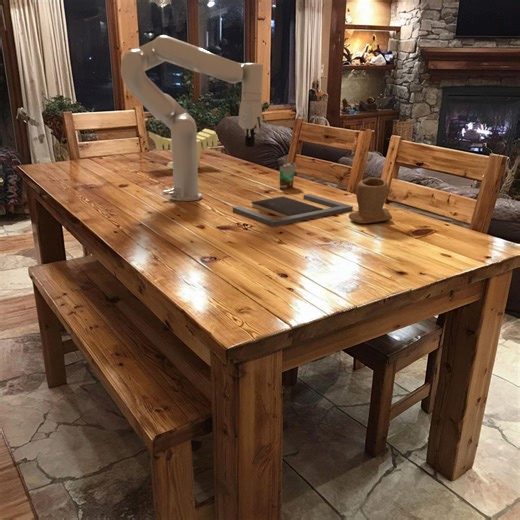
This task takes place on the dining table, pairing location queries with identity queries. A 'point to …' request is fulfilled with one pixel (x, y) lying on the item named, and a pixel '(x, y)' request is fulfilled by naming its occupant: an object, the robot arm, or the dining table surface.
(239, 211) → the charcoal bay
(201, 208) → the dining table surface
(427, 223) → the dining table surface
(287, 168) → the food container
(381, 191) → the stone cup
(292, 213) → the hardcover book
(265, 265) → the dining table surface
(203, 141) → the slatted curved stool
